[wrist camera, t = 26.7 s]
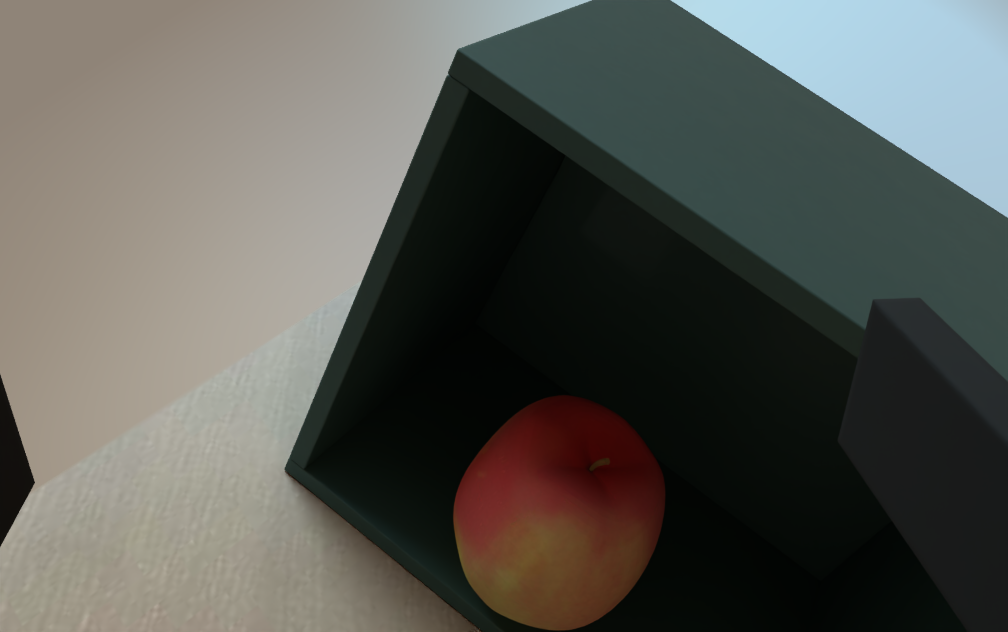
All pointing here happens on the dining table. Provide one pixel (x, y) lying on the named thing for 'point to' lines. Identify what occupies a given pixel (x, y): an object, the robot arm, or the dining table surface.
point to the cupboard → (652, 316)
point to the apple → (559, 514)
